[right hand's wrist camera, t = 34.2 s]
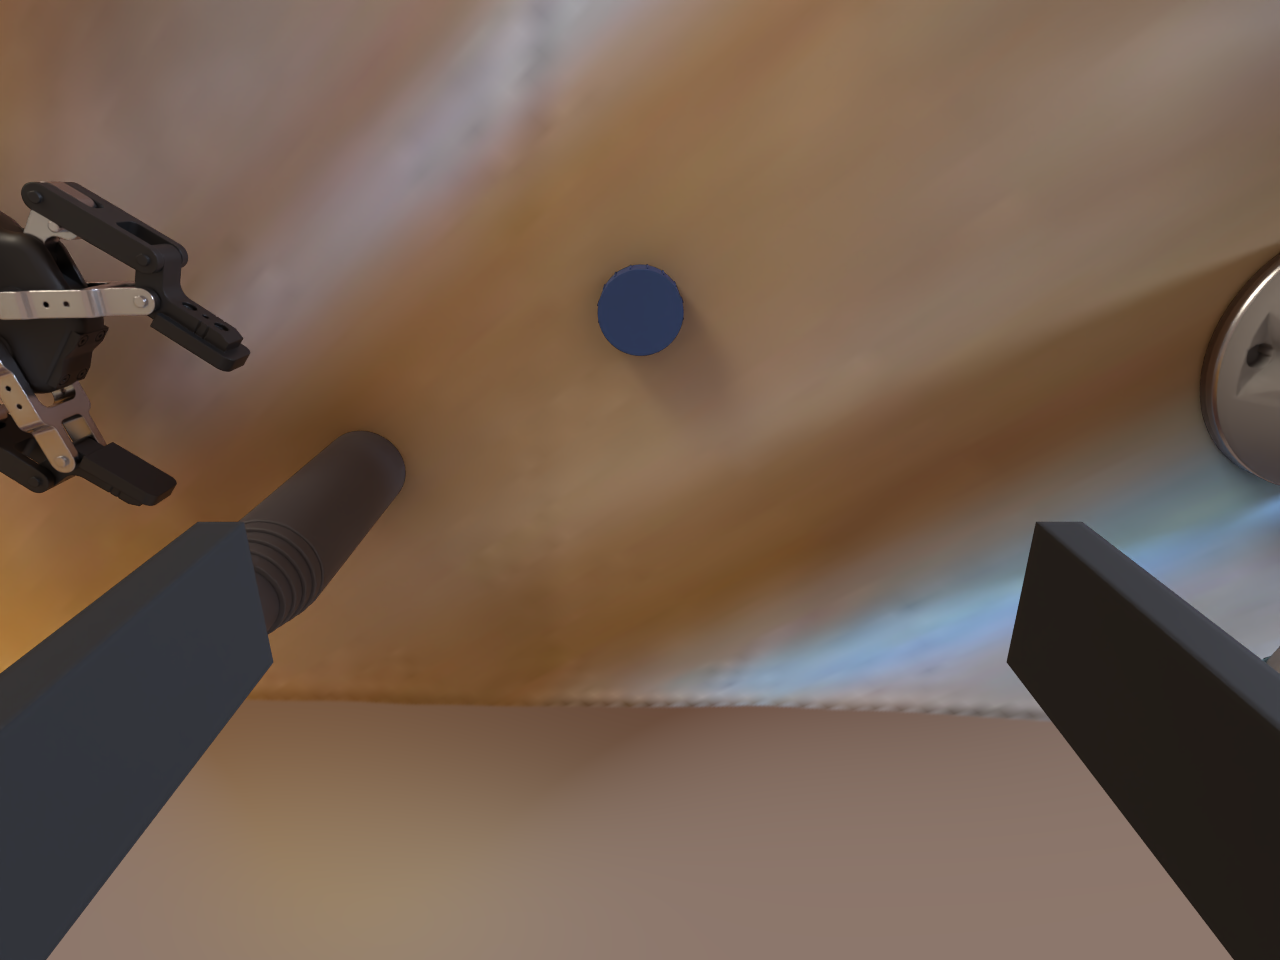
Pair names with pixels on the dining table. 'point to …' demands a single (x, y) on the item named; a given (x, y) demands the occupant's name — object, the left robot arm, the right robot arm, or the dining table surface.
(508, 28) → the dining table surface
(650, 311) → the cap
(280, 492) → the bottle
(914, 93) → the dining table surface
